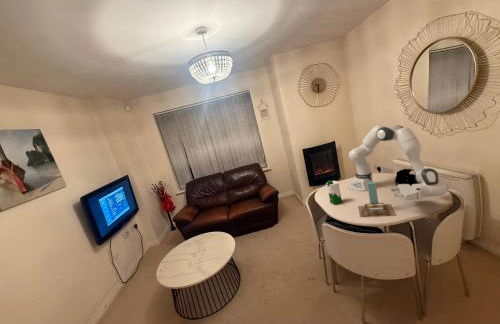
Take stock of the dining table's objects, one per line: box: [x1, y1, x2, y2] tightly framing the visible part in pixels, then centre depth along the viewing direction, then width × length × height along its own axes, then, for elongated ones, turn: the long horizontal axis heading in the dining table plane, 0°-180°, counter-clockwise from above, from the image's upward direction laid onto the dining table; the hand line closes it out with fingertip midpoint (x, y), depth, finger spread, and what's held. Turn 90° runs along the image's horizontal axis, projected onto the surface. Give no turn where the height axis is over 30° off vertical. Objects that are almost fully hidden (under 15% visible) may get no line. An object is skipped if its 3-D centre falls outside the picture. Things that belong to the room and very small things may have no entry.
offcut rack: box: [357, 202, 398, 218], centre depth 157 cm, size 22×18×4 cm
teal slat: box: [367, 181, 380, 204], centre depth 158 cm, size 5×2×20 cm, turn 68°
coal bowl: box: [394, 168, 418, 187], centre depth 171 cm, size 20×20×19 cm
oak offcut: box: [367, 203, 384, 209], centre depth 156 cm, size 10×2×5 cm, turn 68°
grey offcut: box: [370, 207, 383, 211], centre depth 153 cm, size 8×2×4 cm, turn 68°
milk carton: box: [325, 180, 343, 206], centre depth 186 cm, size 9×9×20 cm
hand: (392, 192), depth 153 cm, fingers open, 8 cm apart
